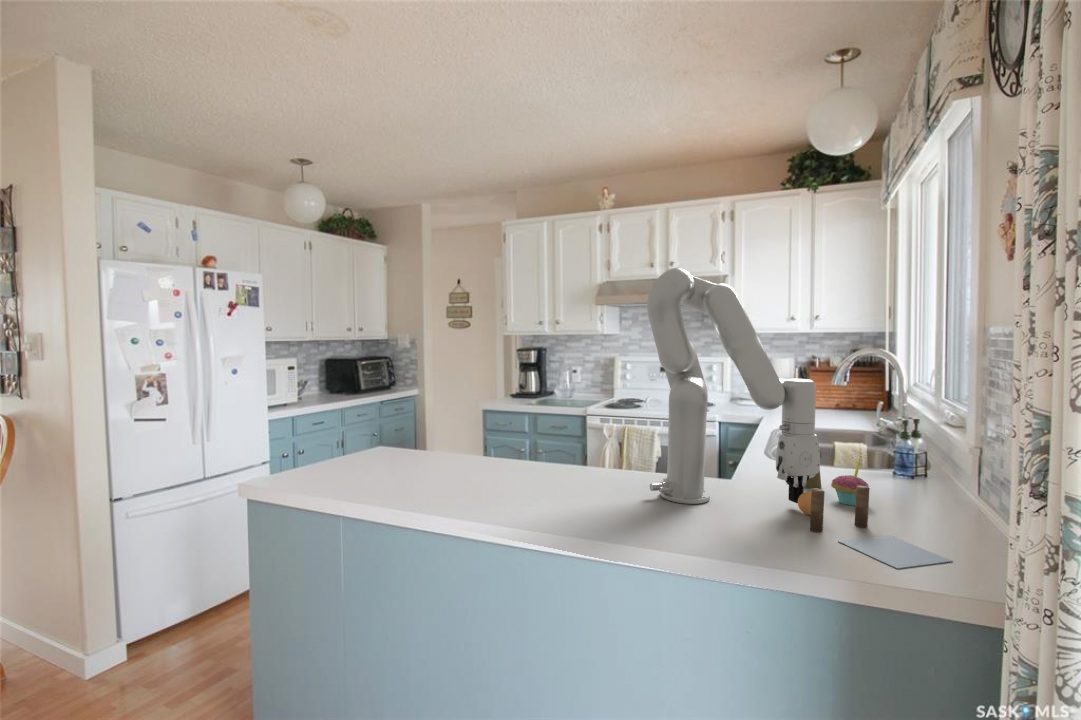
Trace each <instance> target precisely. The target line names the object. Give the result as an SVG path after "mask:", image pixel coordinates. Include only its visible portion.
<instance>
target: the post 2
mask: <svg viewBox="0 0 1081 720" xmlns="http://www.w3.org/2000/svg"><path fill="white" fill-rule="evenodd" d="M870 489H871V488H870V486H868V487H867V486H857V487H856V505H854V506H855V508H854V527H857V526H858V528H861V527H863V529H867V528H868V527H869V526H868V521H869V507H870V506H869V504H870ZM866 527H867V528H866Z"/></svg>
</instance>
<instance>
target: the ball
mask: <svg viewBox="0 0 1081 720" xmlns="http://www.w3.org/2000/svg"><path fill="white" fill-rule="evenodd" d="M811 492H812V491H804V492H803V494H801V495H800V496H799V498H798V503H797V507H798V509H799V511H801V512H802V514H803V513H804V515H806V516H807V515H808V516H810V512H811Z"/></svg>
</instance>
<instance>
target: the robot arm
mask: <svg viewBox="0 0 1081 720" xmlns="http://www.w3.org/2000/svg"><path fill="white" fill-rule="evenodd" d="M646 304H647V305H646V310H647V315H648V320H649V324H650V328H651V332H652V335H653V339H654V343H655V347H656V350H657V354H658V360H659V363H660V365H661V367H662V368H663V369H664V373H665V376H666V378H667V382H668V385H669V389H670V390H669V393H668V394H669V395H668V432H667V437H668V438H667V441H668V442H667V468H666V469H667V470H666V478H665V477H664V478H662V481H660V483H659V482H658V483H657V482H654V483H650V484H649V490H650V492H654V491H655V492H657V491H658V492H659V493H660V494H659V495H660V497H662V498H663V499H665V500H667V501H670V502H674V503H679V504H686V505H687V504H688V505H697V504H699V505H700V504H704V503H706V502H709V501H710V499H711V498H710V497H711V495H710V493H709V492H707V491H706V490H705V469H706V468H705V467H706V445H707V444H706V439H707V437H706V436H707V416H708V415H707V414H708V412H707V411H708V401H709V399H708V397H709V396H708V387H707V385H706V381H705V378H704V374H703V370H702V368H701V364H700V361H699V358H698V354H697V351H696V349H695V346H694V345H693V343H692V342H691V340H690V338H689V335H688V332H687V327H686V326H685V325H686V324H685V320H684V318H683V314H682V310H681V309H682V308H681V307H682V306H683V307H685V308H689V309H691V310H694V311H697V312H700V313H703V314H706V315H708V317H709V320H710V321H711V323H712V326H713V328H714V330H715V332H716V334H717V336H718V338H719V339H720V341H721V344H722V345H723V348H724V350H725V351H726V353H727V355H728V357H729V358H730V359H731V361H732V362H733V364H734V365H735V367H736V369H737V370H738V372H739V374H740V376H741V378H742V380H743V382H744V384H745V386H746V388H747V390H748V392H749V395H750V398H751V399H752V402H754V404H755V405H756V406H757V407H758V408H760V409H763V410H766V411H772V410H775V409H778V408H779V407H780V406H782V407H781V424H780V425H779V430H780V431H781V433H779V437H778V441H777V445H776V454H775V470H776V472H777V477H776V478H777V479H779V480H782V481H785V483H786V485H788V500H789V501H790V502H792V503H795V504H798V498H799V496H800V495H801V494H803V493H804V488H805V486H806V482H807V481H808V479H810V478H812V477H814V476H815V474H817V473H819V471H820V472H821V458H820V451H821V450H820V444H819V438H818V435H817V434H816V433H815V429H816V404H817V401H816V400H817V384H816V382H815V381H814V380H812V379H808V378H807V379H806V378H788V379H786V378H779V375H778V374H777V372H776V370H775V367H774V366H773V363H772V362H771V360H770V358H769V356H768V354H767V352H766V351H765V350H766V349H765V348H764V346H763V344H762V341H761V339H760V338H759V335H758V334H757V331H756V329H755V328H754V326H753V323H752V321H751V319H750V318H749V315H748V314H747V312H746V309H745V307H744V305H743V304H742V301H741V300H740V298H739V296H738V294H737V292H736V291H735V289H734V287H732V286H730V285H729V284H726V283H714V282H710V281H708V280H705V279H702V278H699V277H696V276H693V275H692V274H691V273H690V272H689V271H687V270H686V269H684V268H680V267H672V268H670V269H667V270H666V271H664V272H663V273H662V274H661V275H659V277H657V279H656V280H655V281H654V282H653V284H652V286H651V287H650V289H649V292H648V296H647V301H646ZM819 450H820V451H819Z"/></svg>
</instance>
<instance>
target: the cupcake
mask: <svg viewBox="0 0 1081 720" xmlns="http://www.w3.org/2000/svg"><path fill="white" fill-rule="evenodd" d="M861 459H862V458H859V460H857V463H856V467H855V470H854V475H839V476H837V477H835V478H833V479H832V480H831V485H830V487H831V488H833V489H834V490H835V492H836V495H837V498H838V502H839V503H840V502H841V503H840V504H843V505H846V504H848V505H847V506H856V487H857V486H867V487H870V485H869V483H867V481H866V480H864V479H862V478H860V477H858V473H859V469H860V465H861Z"/></svg>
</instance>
